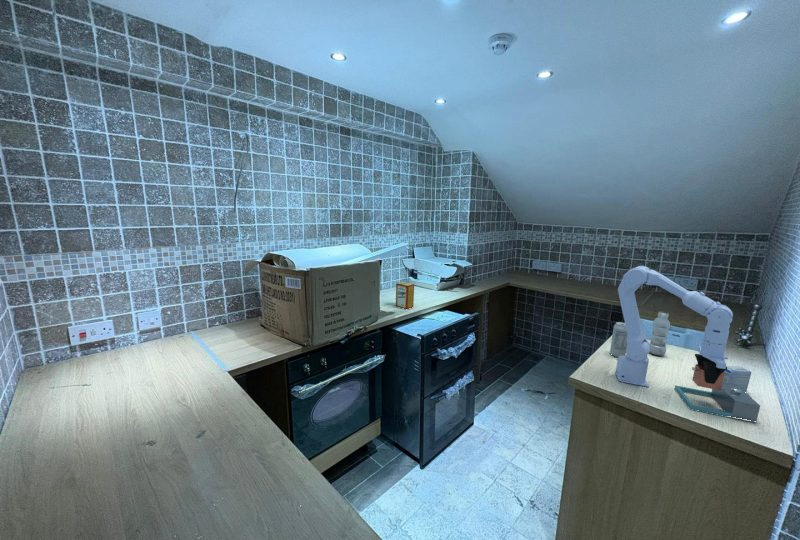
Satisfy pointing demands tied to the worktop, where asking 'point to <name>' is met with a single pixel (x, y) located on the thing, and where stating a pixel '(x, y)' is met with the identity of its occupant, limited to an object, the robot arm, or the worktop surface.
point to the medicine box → (737, 376)
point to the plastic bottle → (660, 334)
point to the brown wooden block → (700, 378)
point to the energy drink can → (619, 340)
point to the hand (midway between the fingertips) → (706, 379)
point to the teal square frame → (725, 401)
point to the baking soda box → (404, 295)
